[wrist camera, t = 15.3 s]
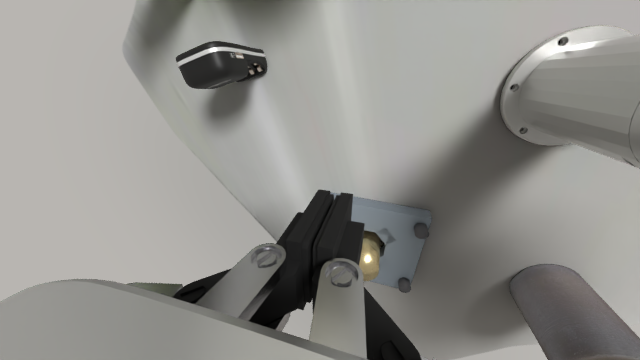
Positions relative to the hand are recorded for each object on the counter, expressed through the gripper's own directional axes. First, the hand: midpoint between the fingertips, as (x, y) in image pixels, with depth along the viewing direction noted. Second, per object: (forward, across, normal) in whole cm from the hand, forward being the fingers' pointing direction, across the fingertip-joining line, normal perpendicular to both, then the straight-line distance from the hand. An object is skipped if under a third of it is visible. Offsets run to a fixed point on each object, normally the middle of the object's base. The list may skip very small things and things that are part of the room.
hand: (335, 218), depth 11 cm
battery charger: (+26, +20, -7) cm, 33 cm away
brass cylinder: (+26, -1, +21) cm, 34 cm away
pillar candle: (+27, -30, +25) cm, 47 cm away
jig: (+26, -1, +21) cm, 34 cm away
